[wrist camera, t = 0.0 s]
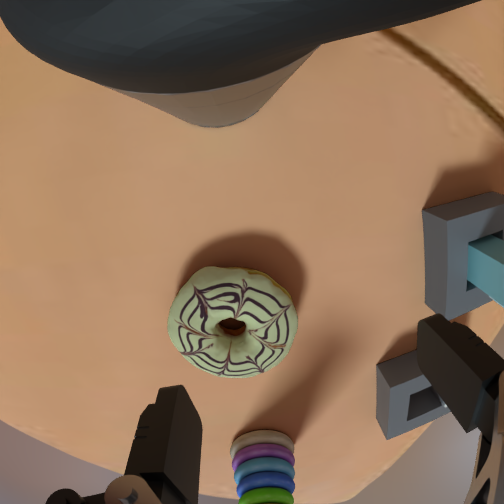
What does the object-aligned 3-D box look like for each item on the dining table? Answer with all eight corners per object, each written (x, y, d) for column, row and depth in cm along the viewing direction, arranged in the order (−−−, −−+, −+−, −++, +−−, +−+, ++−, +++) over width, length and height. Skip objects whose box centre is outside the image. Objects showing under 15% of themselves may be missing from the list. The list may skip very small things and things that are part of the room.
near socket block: (422, 210, 26) (448, 221, 22) (492, 191, 26) (519, 199, 22) (424, 303, 30) (445, 323, 26) (490, 276, 29) (512, 291, 25)
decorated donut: (184, 244, 26) (177, 260, 23) (307, 274, 28) (318, 293, 24) (165, 345, 29) (158, 370, 26) (272, 367, 31) (277, 392, 27)
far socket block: (376, 364, 32) (390, 389, 28) (450, 335, 31) (468, 354, 27) (376, 418, 35) (387, 441, 31) (441, 391, 35) (455, 410, 31)
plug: (449, 234, 27) (517, 273, 18) (473, 226, 27) (541, 260, 18) (449, 274, 29) (509, 320, 19) (473, 264, 29) (533, 305, 19)
